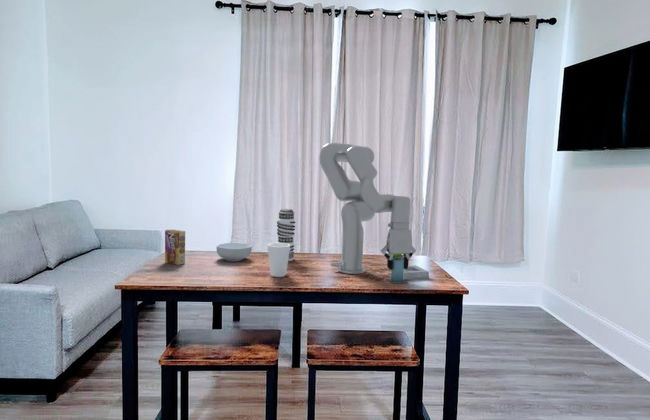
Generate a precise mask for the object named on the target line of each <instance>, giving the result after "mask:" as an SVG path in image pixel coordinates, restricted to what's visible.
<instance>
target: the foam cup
mask: <svg viewBox="0 0 650 420" xmlns="http://www.w3.org/2000/svg"><path fill="white" fill-rule="evenodd" d="M289 251H290V245H289V244H286V243H278V242H271V243H268V244H267V254H268V262H269V269H270V276H271V277H276V278H279V277H281V278H282V277H285V276H286V274H287V269H288V263H289V261H288V257H289Z"/></svg>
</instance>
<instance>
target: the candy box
mask: <svg viewBox="0 0 650 420" xmlns="http://www.w3.org/2000/svg"><path fill="white" fill-rule="evenodd" d="M164 263H166V264H170V265H171V264H172V265H178V266H180V265H184V264H186V230H180V229H170V228H169V229H166V230H164Z"/></svg>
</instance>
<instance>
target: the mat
mask: <svg viewBox="0 0 650 420" xmlns="http://www.w3.org/2000/svg"><path fill="white" fill-rule="evenodd" d="M385 280H386V281H388V282H389V283H390V284H392V285H401V284H409V282H408V281H407V280H403V281H402V282H394V281H391V277H390V278H389V277H388V278H385Z"/></svg>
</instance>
